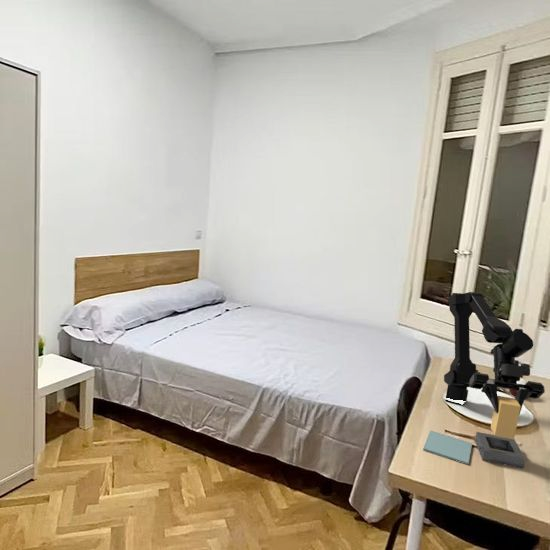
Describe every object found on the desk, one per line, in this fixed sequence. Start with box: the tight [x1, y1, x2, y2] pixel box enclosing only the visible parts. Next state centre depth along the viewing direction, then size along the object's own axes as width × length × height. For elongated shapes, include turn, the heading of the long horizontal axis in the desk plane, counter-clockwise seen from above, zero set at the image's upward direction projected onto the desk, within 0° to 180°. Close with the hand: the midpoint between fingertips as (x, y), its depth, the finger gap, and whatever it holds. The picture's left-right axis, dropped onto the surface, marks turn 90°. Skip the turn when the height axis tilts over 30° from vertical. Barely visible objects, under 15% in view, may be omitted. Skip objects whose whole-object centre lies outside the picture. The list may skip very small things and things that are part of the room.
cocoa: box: [508, 359, 528, 397], centre depth 172 cm, size 10×6×12 cm, turn 156°
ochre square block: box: [490, 395, 522, 439], centre depth 127 cm, size 5×5×10 cm
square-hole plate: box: [474, 431, 526, 469], centre depth 129 cm, size 10×10×3 cm
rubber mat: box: [422, 429, 473, 465], centre depth 131 cm, size 12×12×1 cm
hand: (507, 414), depth 126 cm, fingers closed on ochre square block, 5 cm apart
